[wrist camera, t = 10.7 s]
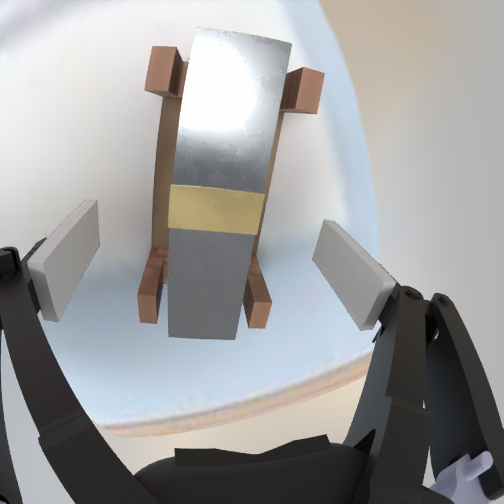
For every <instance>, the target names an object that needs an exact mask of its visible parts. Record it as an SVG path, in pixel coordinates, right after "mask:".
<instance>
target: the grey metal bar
mask: <svg viewBox="0 0 504 504" xmlns="http://www.w3.org/2000/svg"><path fill="white" fill-rule="evenodd" d="M291 46H292V44H291V43H288V42H284V41H279V40H275V39H271V38H266V37H261V36H256V35H250V34H245V33H239V32H232V31H224V30H216V29H206V28H197V29H196V33H195V37H194V42H193V46H192V51H191V56H190V61H189V66H188V71H187V77H186V82H185V88H184V94H183V100H182V106H181V113H180V120H179V127H178V135H177V143H176V152H175V161H174V171H173V181H172V183H171V186H170V199H169V215H168V228H169V249H168V333H169V337H178V338H195V339H221V340H235V337H236V332H237V327H238V322H239V317H240V311H241V306H242V301H243V296H244V291H245V285H246V280H247V275H248V270H249V265H250V259H251V254H252V249H253V244H254V239H255V235H257V232H258V227H259V222H260V217H261V212H262V207H263V201H264V196H265V194H264V187H265V181H266V176H267V171H268V166H269V161H270V155H271V150H272V145H273V140H274V135H275V129H276V124H277V119H278V114H279V109H280V103H281V98H282V93H283V88H284V83H285V78H286V72H287V67H288V62H289V57H290V52H291Z"/></svg>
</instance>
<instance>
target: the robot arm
mask: <svg viewBox="0 0 504 504" xmlns="http://www.w3.org/2000/svg"><path fill="white" fill-rule="evenodd" d="M99 246H100V241H99V227H98V206H97V201H96V200H85V201H84V202H83V203H82V204H81V205H80V206H79V207H78V208H76V209H75V210H74V211H73V212H72V213H71V214H70V215H69V216H68V217H67V218H66V219H65V220H64V221H63V222H62V223H61V224H60V225H59V227H58V228H57V229H56V230H55V231H54V232H53V233H52V234H51V235H50V236H49V237H48V238H44V239H42V240H41V241H39V242H37V243H36V244H35V246H34V247H33V248H32V249H31V250H30V251H29V252H28V254H26V256H25V257H24V258H23V259H22V260H21V261H20V257H19V253H18V250H17V248H15V247H4V248H1V249H0V504H23V502H22V497H21V493H20V490H19V486H18V482H17V479H16V475H15V471H14V468H13V463H12V459H11V455H10V451H9V445H8V440H7V434H6V428H5V421H4V413H3V404H2V391H1V334H2V330H4V334H5V338H6V343H7V346H8V350H9V354H10V358H11V361H12V364H13V368H14V370H15V374H16V377H17V380H18V382H19V385H20V388H21V391H22V394H23V396H24V399H25V401H26V404H27V407H28V409H29V411H30V413H31V416H32V418H33V421H34V423H35V425H36V427H37V429H38V432H39V434H40V437H39V438H38V440H39V444H40V446H41V448H42V450H43V452H44V454H45V456H46V458H47V460H48V461H49V463H50V465H51V467H52V468H53V470H54V472H55V473H56V475H57V477H58V478H59V480H60V482H61V483H62V485H63V486H64V488H65V489H66V491H67V492H68V494H69V495H70V497H71V498H72V499H73V501H74V502H75V504H489V503H491V502H493V501H495V500H496V499H498V498H500V497H501V496H503V495H504V429H503V427H502V423H501V420H500V416H499V413H498V409H497V406H496V403H495V400H494V397H493V393H492V390H491V387H490V385H489V382H488V380H487V376H486V374H485V371H484V368H483V366H482V363H481V361H480V359H479V356H478V354H477V352H476V349H475V347H474V344H473V342H472V340H471V338H470V336H469V333H468V331H467V329H466V327H465V325H464V323H463V321H462V319H461V317H460V315H459V313H458V311H457V309H456V307H455V305H454V303H453V302H452V301H451V300H450V299H449V297H448V296H446V295H444V294H440V293H435V294H434V295H433V297H432V299H431V301H429V300H424V298H423V296H422V294H421V293H420V292H419V291H417V290H416V289H414V288H412V287H409V286H401V285H400V284H399V283H398V282H397V281H396V280H395V279H394V278H393V277H392V276H391V275H389V273H388V272H387V271H386V270H385V269H384V268H383V267H382V266H381V265H380V264H379V263H378V262H377V261H376V260H375V259H374V258H373V257H372V256H371V255H370V254H369V253H368V252H367V251H366V250H365V249H364V248H363V247H362V246H361V245H359V244H358V243H357V242H356V241H355V240H354V239H353V238H352V237H351V236H350V235H349V234H348V233H347V232H346V231H345V230H344V229H343V228H342V227H341V226H340V225H338V224H337V223H336V222H335V221H331V220H324V221H323V225H322V228H321V232H320V235H319V239H318V242H317V245H316V249H315V252H314V255H313V259H312V260H313V261H314V262H315V264H316V265H317V267H318V268H319V270H320V271H321V273H322V274H323V275H324V277H325V278H326V280H327V281H328V283H329V284H330V286H331V287H332V289H333V290H334V292H335V293H336V295H337V296H338V297H339V299H340V300H341V302H342V303H343V305H344V306H345V308H346V310H347V311H348V313H349V314H350V316H351V317H352V319H353V320H354V322H355V323H356V325H357V326H358V328H359V329H360V331H362V330H372V329H373V328H374V326H375V324H376V322H377V320H379V321H380V323H381V324H382V325H381V327H380V329H379V330H378V332H377V334H376V336H375V338H374V339H373V341H372V342H373V343H374V342H375V341H376V343H375V347H374V351H373V355H372V359H371V363H370V367H369V370H368V374H367V377H366V381H365V384H364V388H363V391H362V394H361V397H360V400H359V403H358V406H357V409H356V412H355V415H354V418H353V421H352V423H351V426H350V429H349V432H348V434H347V436H346V439H345V440H344V442H343V444H339V443H330V442H329V440H328V437H327V435H326V434H325V435H321V436H316V437H311V438H306V439H300V440H294V441H292V442H289V443H287V444H285V445H282V446H279V447H277V448H274V449H272V450H269V451H266V452H264V453H261V454H246V453H239V452H233V451H226V450H220V449H215V448H214V449H181V448H179V449H178V448H175V457H170V458H165V459H162V460H159V461H156V462H154V463H152V464H149V465H148V466H146V467H144V468H142V469H141V470H140V471H138V472H137V473H136V474H135V475H134V476H133V475H132V474H131V472H130V471H129V470H128V469H127V468H126V466H125V465H124V464H123V463H122V462H121V461H120V459H119V458H118V457H117V455H116V454H115V453H114V452H113V450H112V449H111V448H110V446H109V445H108V444H107V442H106V441H105V440H104V438H103V437H102V436H101V434H100V433H99V431H98V430H97V428H96V427H95V426H94V424H93V423H92V421H91V420H90V418H89V417H88V415H87V414H86V412H85V411H84V409H83V408H82V406H81V404H80V403H79V401H78V399H77V398H76V396H75V394H74V393H73V391H72V389H71V387H70V385H69V384H68V382H67V380H66V378H65V376H64V374H63V372H62V370H61V368H60V366H59V364H58V362H57V360H56V358H55V356H54V354H53V352H52V350H51V347H50V345H49V343H48V341H47V338H46V336H45V334H44V331H43V329H42V326H41V324H40V321H39V319H38V316H37V314H38V312H39V310H40V309H41V312H42V315H43V318H44V320H48V321H53V322H59V321H60V319H61V317H62V315H63V313H64V311H65V308H66V306H67V304H68V302H69V300H70V298H71V296H72V294H73V292H74V291H75V289H76V287H77V285H78V283H79V281H80V279H81V277H82V276H83V274H84V272H85V270H86V268H87V267H88V265H89V263H90V261H91V260H92V258H93V256H94V254H95V253H96V251H97V249H98V248H99ZM438 332H439V333H438ZM437 334H438V336H437V338H436V339H435V337H436V335H437ZM423 401H424V404H425V409H424V408H423ZM429 445H430V455H431V465H432V470H433V475H434V478H435V482H436V483H435V484H433V485H432V486H431V487H430V488H427V487H425V486H423V485H422V484H423V479H424V474H425V469H426V464H427V457H428V451H429Z"/></svg>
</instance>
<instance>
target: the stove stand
mask: <svg viewBox="0 0 504 504" xmlns="http://www.w3.org/2000/svg"><path fill="white" fill-rule="evenodd" d="M188 66H189V62H183V61H182V58H181V56H180V54H179V52H178V49H177V47H167V46H153V47H152V51H151V56H150V61H149V66H148V72H147V77H146V83H145V91H148V92H151V93H154V94H157V95H160V96H162V97H163V102H162V109H161V116H160V124H159V132H158V141H157V151H156V162H155V175H154V190H153V211H152V248H151V251H150V255H149V258H148V261H147V264H146V267H145V270H144V274H143V277H142V280H141V284H140V287H139V291H138V294H137V296H138V307H139V317H140V322H142V323H153V324H157V320H158V313H159V307H160V301H161V295H162V289H163V284H168V249H169V228H168V215H169V199H170V186H171V183H172V181H173V171H174V161H175V152H176V143H177V135H178V127H179V120H180V113H181V106H182V100H183V94H184V88H185V82H186V77H187V71H188ZM324 74H325V73H322V72H319V71H315V70H312V69H308V68H305V67H302V68H300V69H297V70H295V71H292V72H290V73H287V74H286V78H285V83H284V88H283V93H282V98H281V103H280V109H279V114H278V119H277V124H276V129H275V135H274V140H273V145H272V150H271V155H270V161H269V166H268V171H267V176H266V181H265V187H264V194H265V196H264V201H263V207H262V212H261V217H260V222H259V227H258V232H257V235H255V239H254V244H253V249H252V254H251V259H250V265H249V270H248V275H247V280H246V285H245V291H244V296H243V305H244V310H245V314H246V319H247V323H248V328H265V326H266V323H267V319H268V316H269V312H270V308H271V305H272V301H271V298H270V295H269V292H268V289H267V286H266V284H265V281H264V278H263V275H262V272H261V269H260V266H259V263H258V261H257V258H256V252H257V247H258V242H259V237H260V232H261V227H262V222H263V217H264V212H265V207H266V202H267V197H268V192H269V186H270V181H271V176H272V171H273V166H274V161H275V156H276V151H277V146H278V141H279V136H280V131H281V126H282V120H283V115H284V112H288V113H307V114H317V110H318V105H319V100H320V95H321V90H322V85H323V80H324Z"/></svg>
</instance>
